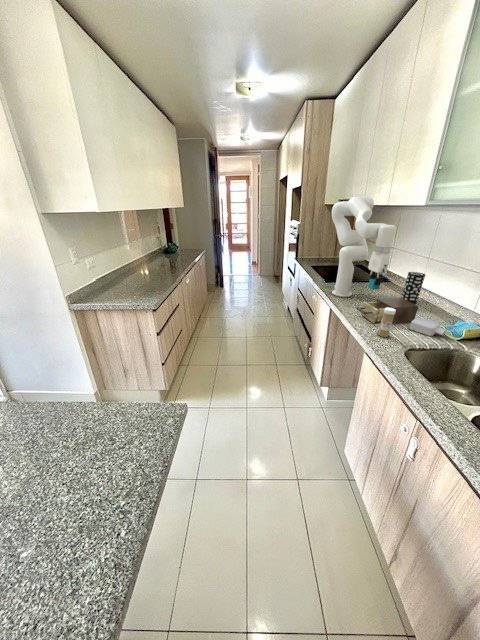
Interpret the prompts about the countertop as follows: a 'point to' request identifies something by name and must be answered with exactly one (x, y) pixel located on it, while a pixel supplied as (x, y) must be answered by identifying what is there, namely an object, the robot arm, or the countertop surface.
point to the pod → (371, 284)
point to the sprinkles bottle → (386, 322)
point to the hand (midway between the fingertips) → (374, 283)
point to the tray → (372, 310)
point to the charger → (427, 327)
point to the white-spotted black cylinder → (413, 286)
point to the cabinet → (401, 309)
